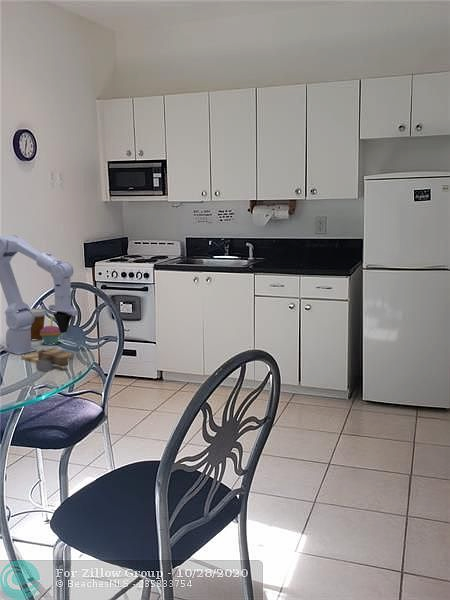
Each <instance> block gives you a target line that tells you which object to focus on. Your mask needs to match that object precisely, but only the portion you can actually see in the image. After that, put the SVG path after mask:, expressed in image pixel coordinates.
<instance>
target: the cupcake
mask: <svg viewBox="0 0 450 600" xmlns="http://www.w3.org/2000/svg"><path fill="white" fill-rule="evenodd" d="M53 318H54V316H53V314H51V315H50V325H48V326H47V325H46V326H44V328H42V329H41V330H40V336H41V337H42V338H43V339H42V340H43V341H44V344H45V343H46V344H45V345H47V344H53V343H56V344H57V343H58V340H59V338H60V336H62V334H63V333H61V332H60V330H59V326H55V325H53ZM53 345H54V344H53Z"/></svg>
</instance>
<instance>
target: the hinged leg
mask: <svg viewBox="0 0 450 600" xmlns="http://www.w3.org/2000/svg"><path fill="white" fill-rule="evenodd" d="M46 350H47V349H46ZM46 350H45V349H44V348H43V349H42V348H41V349H40V350H38V351H37V352H38V359H39V360H40V359H48V360H52V361H54V366H58V367H61V368H62V367H67V366H69V359H68V357H67V356H63V355H59V354H56V353H52V352H49V351H46Z"/></svg>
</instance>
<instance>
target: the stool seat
mask: <svg viewBox="0 0 450 600" xmlns="http://www.w3.org/2000/svg"><path fill="white" fill-rule="evenodd" d="M46 351H49V352H52V353H56V354H59V355H63V356H67V357H68V360H69V359H72V358H74V356H75V355H74V353H72V352H71V353H70V352H67V351H65V350H61V349H56V348H49V349H46ZM21 359H22V360H24V361H28V362H31V363H34V364H36V360H39V359H38V351H35V352H30V353H26V354H21Z"/></svg>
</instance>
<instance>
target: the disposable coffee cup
mask: <svg viewBox="0 0 450 600" xmlns="http://www.w3.org/2000/svg"><path fill="white" fill-rule="evenodd" d="M30 310H31V311H32V312H33V314H34V318H35V319H34V322H33V323H32V324H31V325H32V327H31V339H38V340H37V341H40V340H39V339H41V340H43V338H42V337H41V336H40V330H41V329H42V328H44V327H45V319H46V318H45V317H46V314H47V313H46V311H45V309H44V308H38V307H37V308H30Z"/></svg>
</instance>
